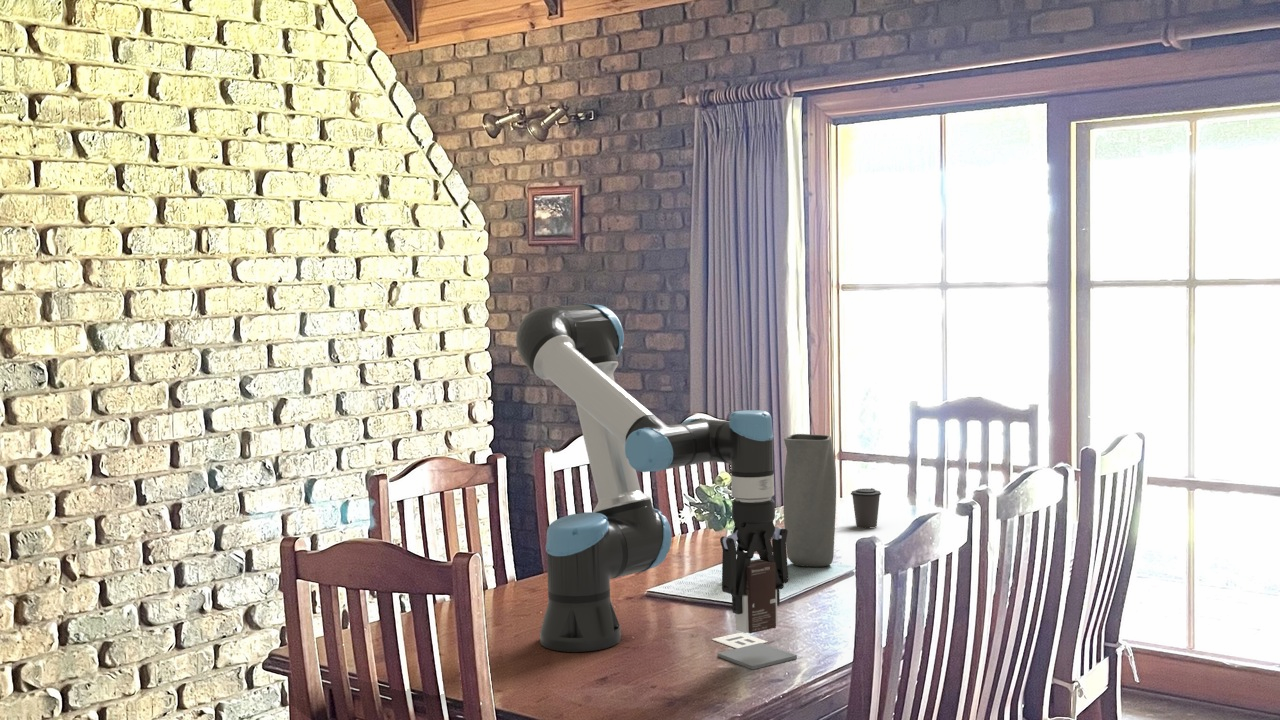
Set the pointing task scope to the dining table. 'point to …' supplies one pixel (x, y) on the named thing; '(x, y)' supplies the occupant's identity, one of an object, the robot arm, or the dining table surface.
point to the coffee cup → (866, 507)
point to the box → (761, 595)
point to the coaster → (757, 656)
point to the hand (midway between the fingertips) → (756, 627)
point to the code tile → (739, 640)
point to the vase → (810, 499)
